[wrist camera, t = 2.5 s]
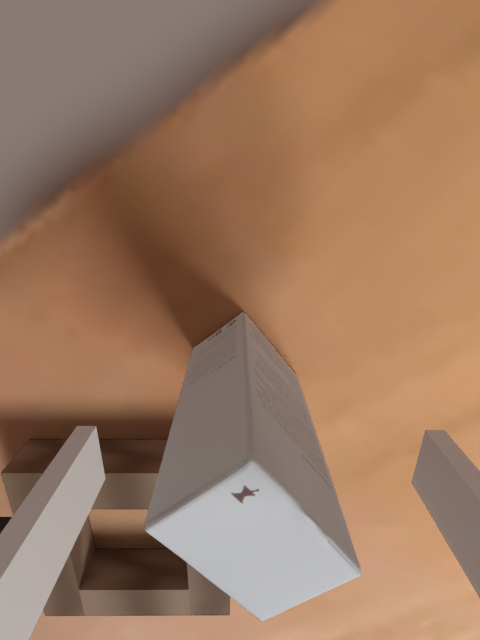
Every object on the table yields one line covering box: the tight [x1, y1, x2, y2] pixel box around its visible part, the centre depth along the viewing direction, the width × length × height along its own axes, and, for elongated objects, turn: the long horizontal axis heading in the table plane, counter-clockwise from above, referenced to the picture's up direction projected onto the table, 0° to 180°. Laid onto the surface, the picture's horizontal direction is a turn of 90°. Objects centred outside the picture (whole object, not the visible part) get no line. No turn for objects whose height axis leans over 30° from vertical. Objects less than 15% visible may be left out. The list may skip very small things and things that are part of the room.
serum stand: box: [1, 439, 230, 616], centre depth 24 cm, size 14×14×3 cm
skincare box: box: [144, 312, 361, 621], centre depth 15 cm, size 6×4×12 cm
